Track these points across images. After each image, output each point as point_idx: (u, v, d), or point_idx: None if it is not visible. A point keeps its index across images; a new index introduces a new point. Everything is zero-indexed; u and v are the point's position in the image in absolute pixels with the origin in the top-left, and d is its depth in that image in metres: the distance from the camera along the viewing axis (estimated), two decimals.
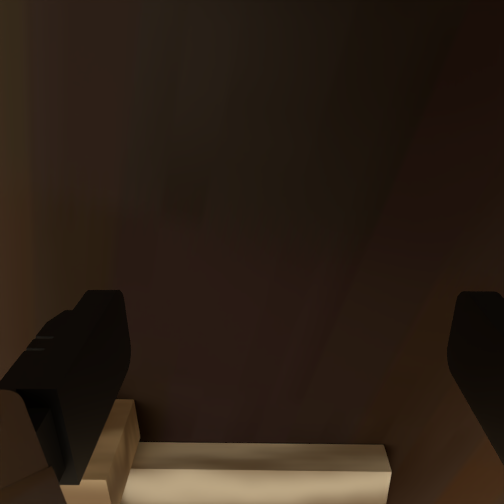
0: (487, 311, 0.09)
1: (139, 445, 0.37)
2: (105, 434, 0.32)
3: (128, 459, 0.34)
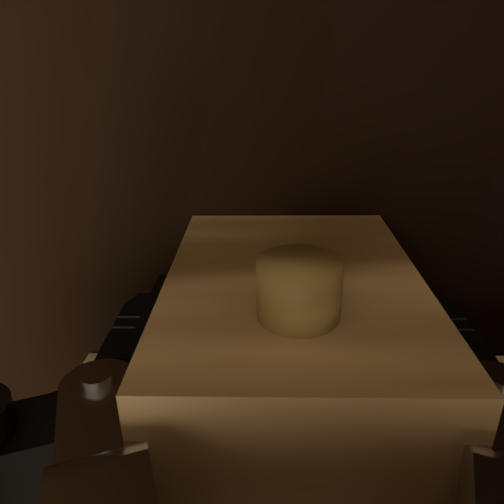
0: None
1: None
2: (360, 272, 0.09)
3: None
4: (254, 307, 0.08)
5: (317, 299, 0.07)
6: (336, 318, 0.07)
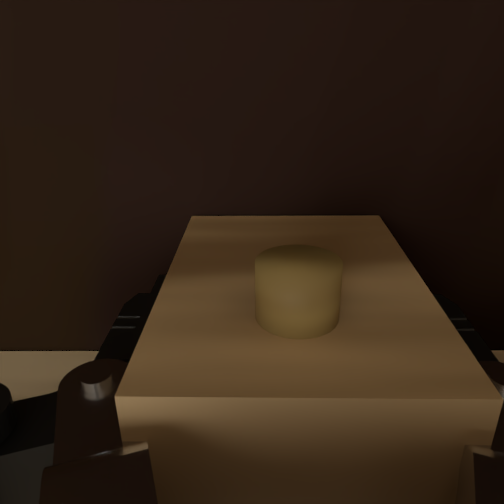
0: None
1: (37, 357, 0.14)
2: (359, 272, 0.09)
3: None
4: (253, 307, 0.08)
5: (316, 299, 0.07)
6: (335, 318, 0.07)
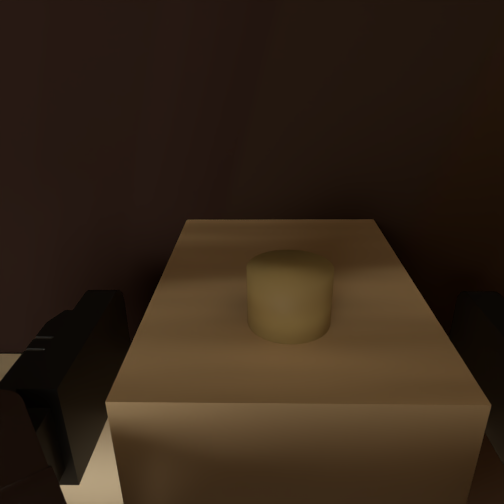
0: (487, 311, 0.09)
1: None
2: (352, 276, 0.09)
3: None
4: (245, 312, 0.08)
5: (307, 305, 0.07)
6: (326, 323, 0.07)
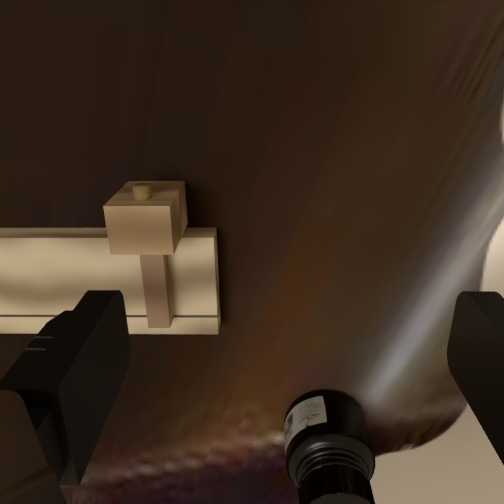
0: (487, 311, 0.09)
1: (5, 229, 0.43)
2: (164, 192, 0.38)
3: (181, 223, 0.39)
4: (134, 197, 0.37)
5: (142, 192, 0.35)
6: (148, 197, 0.36)
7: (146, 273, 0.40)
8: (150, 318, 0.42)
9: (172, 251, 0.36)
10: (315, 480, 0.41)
